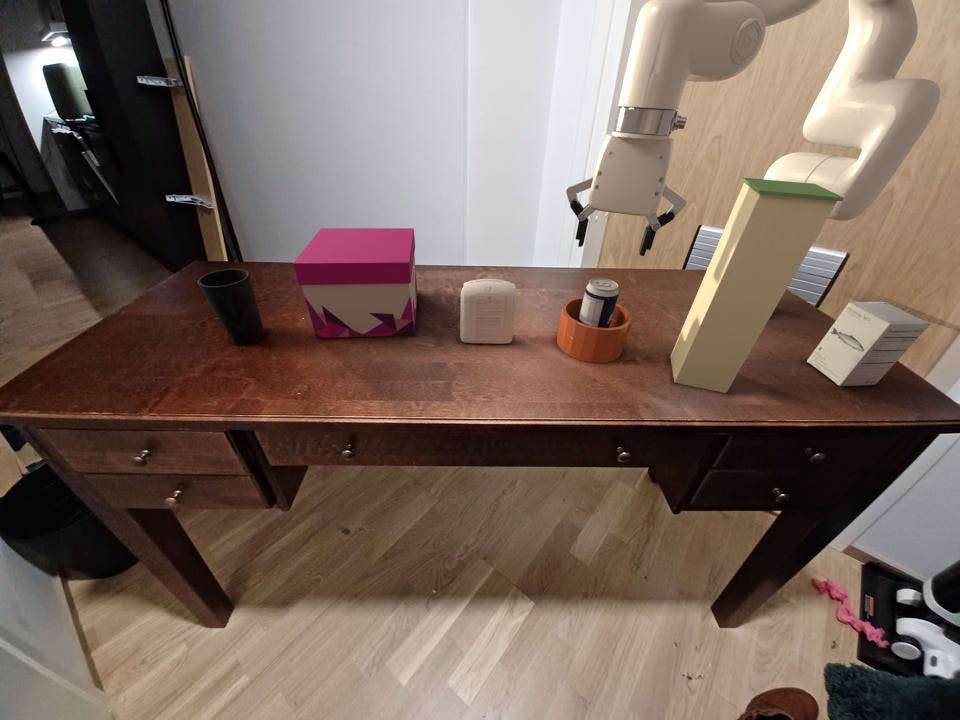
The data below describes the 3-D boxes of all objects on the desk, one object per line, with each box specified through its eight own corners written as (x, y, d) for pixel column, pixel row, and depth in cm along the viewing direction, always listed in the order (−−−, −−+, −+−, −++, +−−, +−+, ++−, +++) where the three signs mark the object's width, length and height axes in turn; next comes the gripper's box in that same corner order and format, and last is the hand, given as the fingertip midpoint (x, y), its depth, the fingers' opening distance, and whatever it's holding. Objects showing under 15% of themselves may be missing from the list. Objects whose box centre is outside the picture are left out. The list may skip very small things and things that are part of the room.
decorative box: (415, 336, 71) (408, 262, 62) (314, 339, 69) (292, 263, 60) (418, 292, 86) (413, 228, 77) (335, 294, 84) (321, 228, 75)
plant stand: (717, 365, 66) (811, 187, 48) (726, 393, 60) (838, 200, 42) (670, 356, 68) (744, 181, 50) (674, 382, 62) (760, 193, 44)
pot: (600, 324, 77) (608, 293, 73) (635, 357, 68) (646, 325, 63) (546, 330, 74) (551, 300, 70) (575, 367, 65) (582, 333, 61)
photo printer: (511, 333, 73) (517, 275, 66) (513, 345, 70) (520, 285, 62) (460, 333, 73) (460, 274, 65) (460, 345, 69) (459, 284, 62)
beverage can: (605, 351, 68) (622, 292, 61) (574, 347, 69) (587, 288, 62) (603, 335, 72) (619, 278, 65) (574, 331, 73) (586, 275, 66)
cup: (279, 330, 71) (259, 272, 64) (248, 351, 65) (221, 290, 58) (248, 323, 73) (225, 265, 66) (215, 342, 67) (185, 282, 60)
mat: (813, 186, 49) (815, 183, 48) (842, 201, 42) (844, 197, 42) (741, 180, 51) (742, 177, 50) (758, 193, 44) (759, 190, 44)
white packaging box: (804, 361, 68) (846, 300, 61) (840, 360, 69) (886, 300, 61) (838, 387, 62) (890, 323, 55) (877, 386, 63) (934, 323, 56)
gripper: (707, 127, 50) (665, 249, 61) (581, 119, 54) (561, 234, 65) (717, 131, 45) (668, 265, 55) (575, 121, 49) (554, 248, 59)
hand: (610, 248), depth 60 cm, fingers open, 9 cm apart
